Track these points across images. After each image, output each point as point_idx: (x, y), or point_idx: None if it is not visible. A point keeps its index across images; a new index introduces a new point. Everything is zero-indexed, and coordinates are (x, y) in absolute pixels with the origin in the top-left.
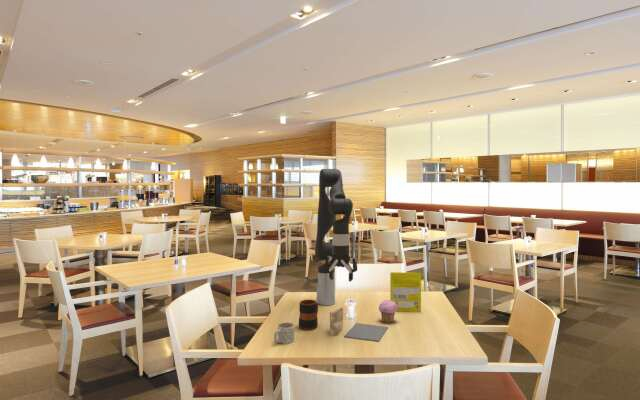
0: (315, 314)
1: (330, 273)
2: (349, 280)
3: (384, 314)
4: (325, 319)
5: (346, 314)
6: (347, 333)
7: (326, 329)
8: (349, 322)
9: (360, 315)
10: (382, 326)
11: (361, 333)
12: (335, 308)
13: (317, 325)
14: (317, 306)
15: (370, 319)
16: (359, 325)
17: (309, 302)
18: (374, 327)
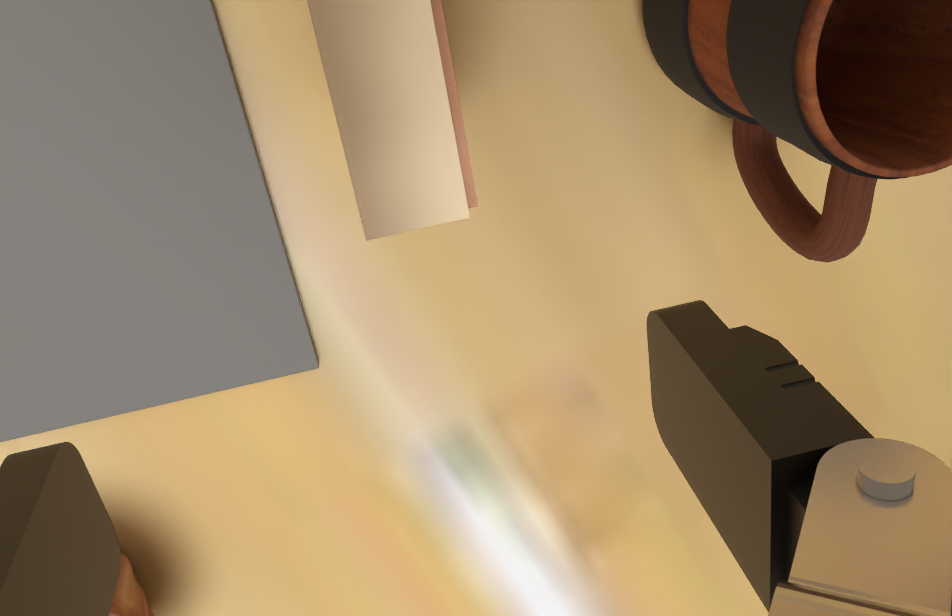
0: (716, 19)
1: (795, 406)
2: (29, 456)
3: None
4: (674, 303)
5: (551, 525)
6: (203, 16)
7: (517, 36)
8: (407, 363)
9: (418, 572)
10: (13, 427)
11: (60, 110)
12: (442, 135)
13: (647, 35)
14: (794, 230)
15: (271, 540)
16: (243, 321)
17: (923, 144)
18: (64, 357)
